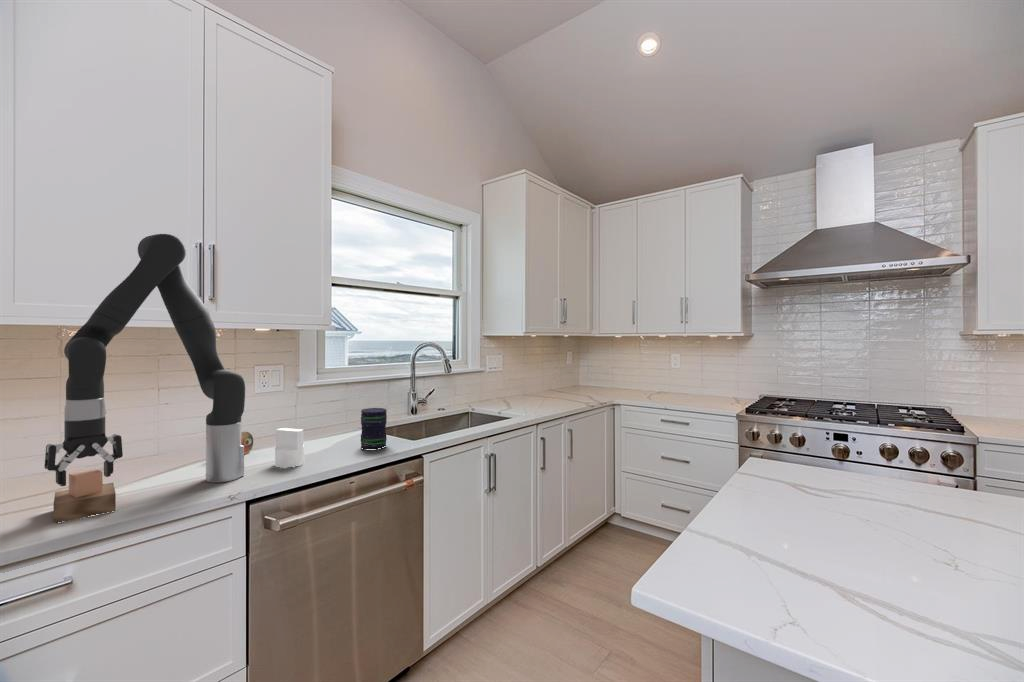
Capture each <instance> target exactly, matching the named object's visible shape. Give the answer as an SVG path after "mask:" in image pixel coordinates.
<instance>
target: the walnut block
mask: <svg viewBox="0 0 1024 682" xmlns="http://www.w3.org/2000/svg"><path fill="white" fill-rule="evenodd" d="M116 497H117V493H116V489H115V484H114V482H109V483H102V492H98V493H94V494H89V495H85V496H80V497H74V496H73V495H71V494H69V489H66V490H60V491H55V493H54V497H53V498H54V499H53V524H54V523H56V524H59V523H58V522H61V523H63V522H62V521H66V522H69V520H71V521H75V519H77V520H80V518H82V519H84V518H83V517H87V518H89V517H88V516H91V515H96V514H102V513H107V512H112V511H117V510H116V507H117V505H116V502H117V501H116V499H117V498H116ZM112 513H113V512H112ZM107 514H108V513H107ZM102 515H103V514H102Z"/></svg>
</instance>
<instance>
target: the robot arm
mask: <svg viewBox="0 0 1024 682" xmlns="http://www.w3.org/2000/svg"><path fill="white" fill-rule="evenodd" d="M137 253H138V257H139V259H140V260H139V261H138V263H137V265H136V266H135V267H134V269H133V270H132V271H131V272H130V273H129V274H128V275H127V277H126V278H125V279H123V280H122V281H121V282H120V283H119V284H118V285H117V286H116V287H115V288H113V290H112V291H110V292H109V293H108V294H107V296H105V298H103V300H102V301H101V302H100V304H99V305H98V306H97V307H96V309H95V310H94V312H92V314H91V315H90V316H89V318H88V320H87V321H86V322H85V323H84V324H83V325H82V326H81V327H80V328H79V329H77V330H78V331H76V332H75V333H74V334H73V336H72V337H71V338H70V339H69V340H68V342H66V344H65V346H64V349H63V351H64V352H63V353H64V356H65V358H66V359H67V360H68V377H67V380H66V381H65V382H66V383H65V405H64V412H63V413H64V417H63V419H64V420H63V421H64V422H63V423H64V429H63V430H64V434H63V435H64V436H63V437H64V438H63V439H64V440H63V442H62V443H58V444H57V443H56V444H52V443H48V444H46V446H45V454H44V455H45V456H44V469H46V470H47V471H49V472H50V471H55V483H56V484H57V485H59V486H60V487H65V486H67V470H66V469H67V467H68V466H69V465H70V464H72V463H73V461H74V460H75V459H83V458H87V457H95V456H96V455H98V456H99V457H101V459H103V460H105V461H103V476H104V477H106V478H108V477H111V475H112V474H113V473H114V461H115V460H117V459H120V458H123V455H124V453H123V443H122V436H121V435H119V434H112V435H111V436H107V435H106V415H107V411H106V402H105V383H104V375H105V370H106V362H107V349H106V348H107V346H108V345H109V343H110V342H111V341H112V340H113V338H114V337H115V336H117V335H119V334H121V332H122V331H123V330H124V329H125V327H126V326H127V324H128V323H129V322H130V320H131V319H132V318H133V317H134V316H135V314H136V313H137V312H138V310H139V309H140V307H141V306H142V304H143V303H144V302H145V301H146V299H147V298H148V297H149V296H150V295H151V294H152V292H153V291H154V289H155V288H156V287H157V290H158V291H159V293H160V296H161V299H162V301H163V304H164V306H165V308H166V310H167V313H168V315H169V318H170V320H171V323H172V325H173V326H174V328H175V331H176V333H177V335H178V337H179V339H180V340H181V342H182V345H183V346H184V349H185V351H186V353H187V355H188V357H189V359H190V360H191V363H192V365H193V368H194V371H195V374H196V377H197V380H198V383H199V386H200V388H201V391H202V393H203V394H204V395H205V396H206V397H207V398H209V399H210V400H213V401H212V409H211V412H209V413H208V414H207V415H206V417H205V481H206V482H208V483H226V482H231V481H234V480H237V479H239V478H240V477H243V476H245V455H244V446H243V445H241V432H242V416H243V415H244V412H245V402H246V383H245V380H244V378H243V376H242V374H239V373H238V372H235V371H230V370H226V368H225V367H224V365H223V363H222V361H221V360H220V358H219V354H218V352H217V350H218V349H217V331H216V327H215V324H214V321H213V319H212V317H211V315H210V313H209V311H208V308H207V307H206V305H205V304H204V302H203V301H202V299H201V298H200V296H199V295H198V294H197V293H196V292H195V290H194V289H192V287H191V286H190V283H188V282H187V280H186V278H185V275H184V273H183V270H182V268H181V265H180V264H182V263H183V261H184V260H185V258H186V257H187V256H186V255H187V249H186V246H185V244H184V243H183V241H182V240H181V239H180V238H179V237H177V236H176V235H172V234H169V233H156V234H152V235H148V236H145V237H143V238H142V239H141V240H140V241H139V243H138V245H137ZM107 443H109V444H111V445H112V453H111V454H110V453H109V452H108V451H107V450H105V449H104V446H106V444H107ZM62 449H63V450H64V451H65V454H63V456H61V458H60V460H58V461H59V462H57V464H56V458H57V457H56V456H57V454H58V453H59V452H60V450H62Z"/></svg>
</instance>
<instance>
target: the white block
mask: <svg viewBox="0 0 1024 682" xmlns="http://www.w3.org/2000/svg"><path fill="white" fill-rule="evenodd" d="M275 435H276V436H275V437H276V438H275V447H274V467H275V466H276V467H275V468H277V467H280V468H279V469H284V468H283V467H293V466H296V465H300V464H302V463H303V462H304V463H305V445H304V429H303V428H302V429H301V428H300V429H299V428H288V427H282V428H281V427H280V428H277V429H276V430H275ZM281 467H282V468H281ZM293 468H294V467H293Z"/></svg>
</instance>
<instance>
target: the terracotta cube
mask: <svg viewBox="0 0 1024 682" xmlns="http://www.w3.org/2000/svg"><path fill="white" fill-rule="evenodd" d="M102 484H103V471H101V470H99V469H97V468H91V469H86V470H82V471H76V472H70V473H68V490H69V494H71V495H73V496H74V497H80V496H85V495H89V494H94V493H98V492H102Z"/></svg>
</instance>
